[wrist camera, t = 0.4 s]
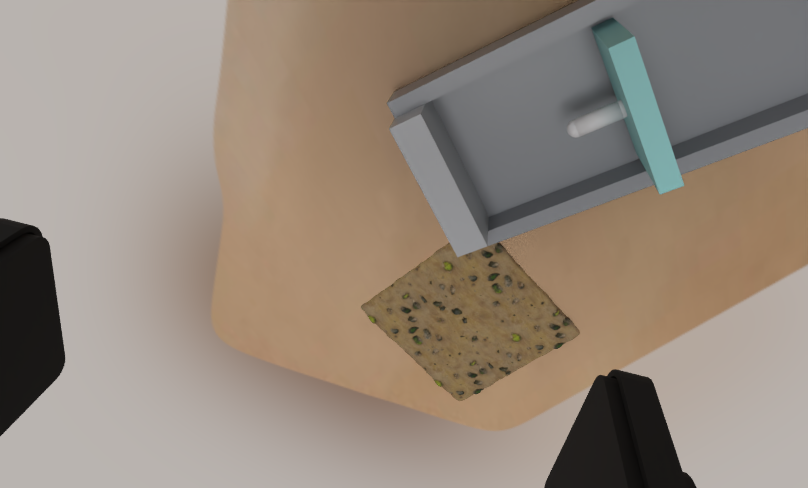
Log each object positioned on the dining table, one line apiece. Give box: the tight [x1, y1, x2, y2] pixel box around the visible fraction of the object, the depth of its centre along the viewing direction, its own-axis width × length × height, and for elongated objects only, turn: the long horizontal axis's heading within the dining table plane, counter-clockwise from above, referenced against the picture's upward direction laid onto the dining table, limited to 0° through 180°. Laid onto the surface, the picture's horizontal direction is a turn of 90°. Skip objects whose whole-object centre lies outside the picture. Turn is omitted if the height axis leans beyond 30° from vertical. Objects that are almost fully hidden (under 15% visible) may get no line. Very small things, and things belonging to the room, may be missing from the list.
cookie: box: [361, 243, 580, 401], centre depth 44 cm, size 12×12×1 cm
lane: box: [387, 0, 808, 257], centre depth 32 cm, size 24×11×5 cm, turn 118°
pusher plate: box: [567, 18, 684, 194], centre depth 31 cm, size 4×8×6 cm, turn 28°
